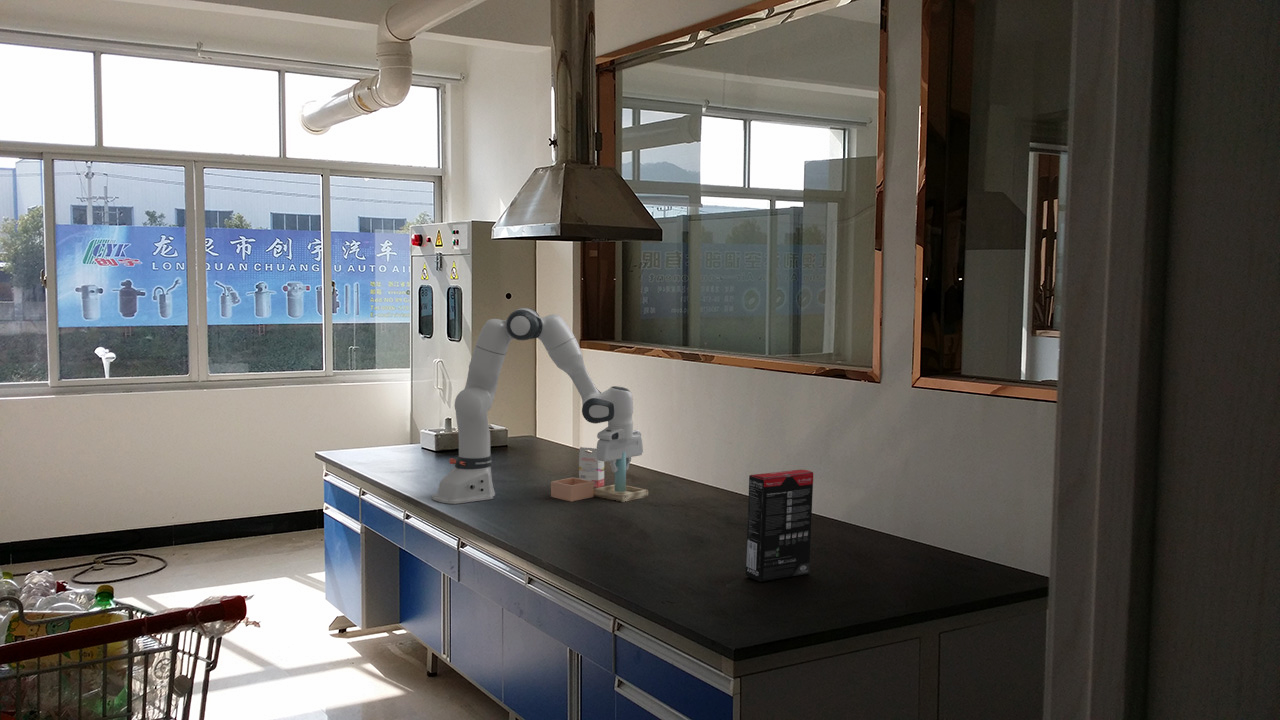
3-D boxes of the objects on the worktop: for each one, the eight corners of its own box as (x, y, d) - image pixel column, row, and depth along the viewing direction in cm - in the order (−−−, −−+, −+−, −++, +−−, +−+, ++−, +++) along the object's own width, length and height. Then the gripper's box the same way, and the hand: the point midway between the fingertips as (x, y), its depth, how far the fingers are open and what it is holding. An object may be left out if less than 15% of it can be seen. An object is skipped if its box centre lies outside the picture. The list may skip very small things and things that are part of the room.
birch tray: (622, 502, 342) (622, 495, 342) (592, 495, 353) (592, 488, 352) (648, 496, 352) (648, 489, 352) (618, 490, 362) (618, 483, 362)
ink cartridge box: (604, 485, 370) (605, 446, 369) (598, 488, 365) (598, 448, 364) (585, 483, 374) (585, 445, 373) (578, 486, 369) (578, 447, 368)
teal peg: (620, 492, 349) (620, 453, 348) (612, 490, 352) (612, 451, 351) (628, 490, 352) (628, 451, 351) (620, 489, 355) (620, 450, 354)
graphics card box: (795, 567, 265) (796, 467, 263) (812, 574, 259) (814, 471, 257) (744, 577, 256) (746, 473, 254) (761, 584, 250) (763, 477, 248)
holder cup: (571, 501, 343) (571, 485, 343) (551, 496, 350) (551, 481, 350) (593, 496, 351) (593, 481, 350) (573, 492, 358) (573, 477, 357)
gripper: (634, 428, 360) (634, 466, 361) (593, 434, 345) (593, 473, 346) (647, 430, 356) (646, 468, 357) (606, 436, 341) (606, 476, 342)
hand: (620, 470), depth 352 cm, fingers closed on teal peg, 4 cm apart
